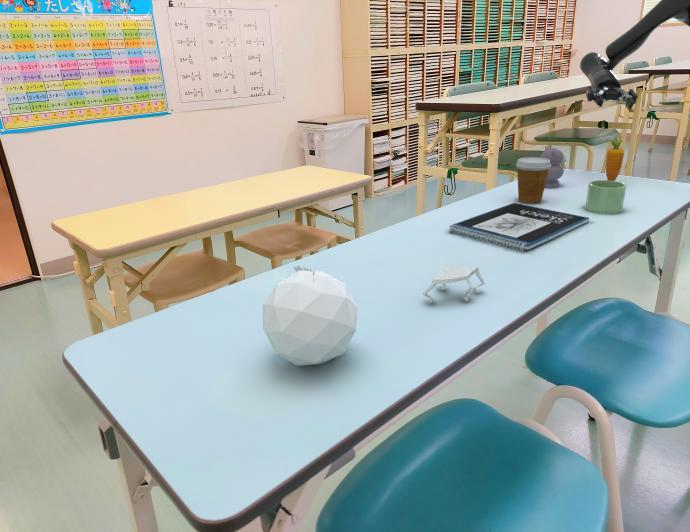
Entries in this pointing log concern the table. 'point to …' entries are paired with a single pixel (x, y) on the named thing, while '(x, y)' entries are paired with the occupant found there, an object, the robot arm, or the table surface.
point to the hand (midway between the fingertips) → (616, 104)
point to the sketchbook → (519, 226)
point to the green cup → (605, 196)
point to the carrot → (614, 160)
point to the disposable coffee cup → (532, 178)
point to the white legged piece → (455, 278)
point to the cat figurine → (553, 166)
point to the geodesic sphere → (309, 317)
